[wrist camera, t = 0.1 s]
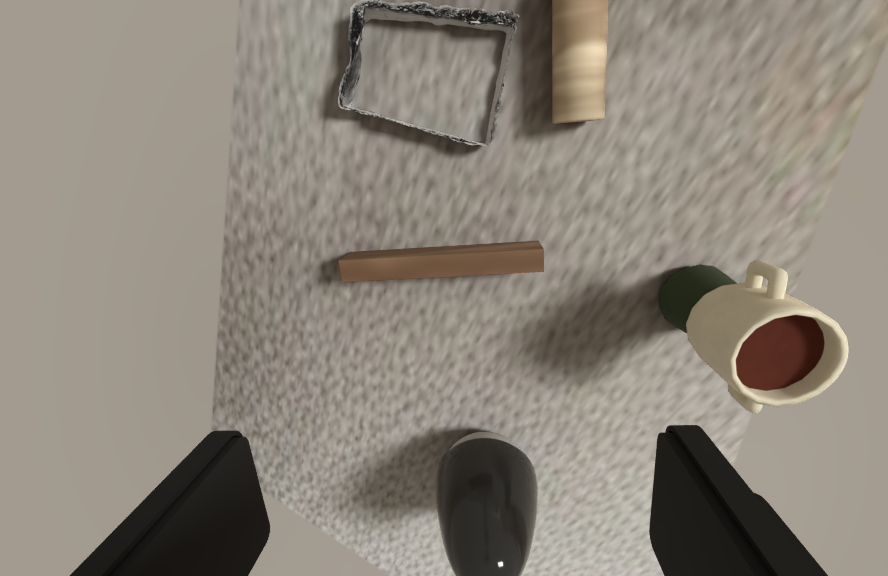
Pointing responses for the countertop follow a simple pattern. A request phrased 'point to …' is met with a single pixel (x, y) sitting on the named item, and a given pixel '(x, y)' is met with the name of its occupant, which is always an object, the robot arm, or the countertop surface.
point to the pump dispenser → (486, 505)
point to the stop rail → (443, 261)
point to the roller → (579, 60)
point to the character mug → (756, 334)
